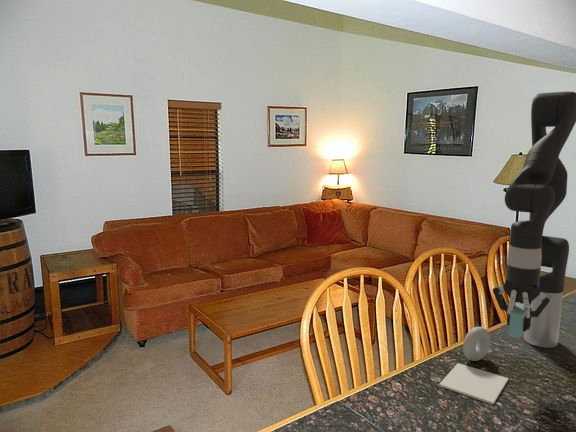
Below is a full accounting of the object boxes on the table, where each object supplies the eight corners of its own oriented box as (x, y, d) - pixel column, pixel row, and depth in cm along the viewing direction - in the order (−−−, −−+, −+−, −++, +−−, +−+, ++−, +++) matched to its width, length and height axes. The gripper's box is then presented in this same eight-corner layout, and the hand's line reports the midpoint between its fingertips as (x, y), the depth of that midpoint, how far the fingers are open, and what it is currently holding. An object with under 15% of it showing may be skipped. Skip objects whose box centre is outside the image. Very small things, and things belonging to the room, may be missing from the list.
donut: (469, 367, 125) (472, 333, 123) (459, 362, 128) (461, 328, 126) (491, 358, 130) (494, 325, 128) (481, 353, 133) (483, 321, 131)
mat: (457, 365, 126) (457, 363, 126) (508, 380, 118) (508, 378, 118) (439, 386, 115) (439, 384, 115) (493, 404, 107) (493, 402, 107)
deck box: (516, 324, 120) (517, 302, 119) (527, 326, 118) (529, 305, 117) (508, 334, 114) (510, 312, 112) (520, 337, 112) (522, 314, 111)
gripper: (558, 264, 111) (551, 330, 114) (498, 255, 120) (493, 317, 123) (553, 272, 105) (546, 341, 109) (489, 262, 114) (485, 326, 117)
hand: (518, 328), depth 116 cm, fingers closed on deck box, 2 cm apart
